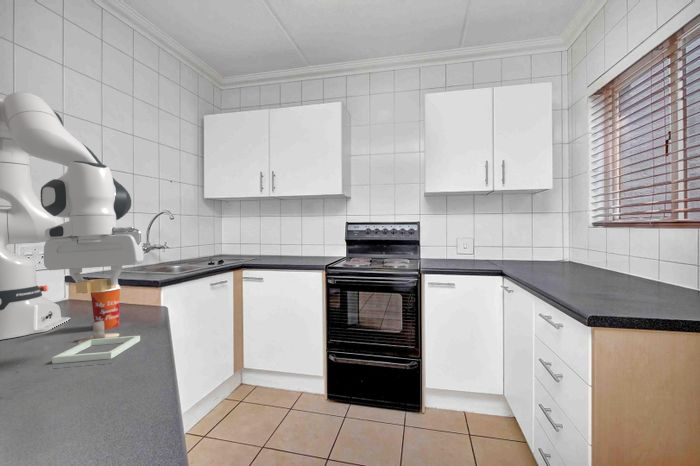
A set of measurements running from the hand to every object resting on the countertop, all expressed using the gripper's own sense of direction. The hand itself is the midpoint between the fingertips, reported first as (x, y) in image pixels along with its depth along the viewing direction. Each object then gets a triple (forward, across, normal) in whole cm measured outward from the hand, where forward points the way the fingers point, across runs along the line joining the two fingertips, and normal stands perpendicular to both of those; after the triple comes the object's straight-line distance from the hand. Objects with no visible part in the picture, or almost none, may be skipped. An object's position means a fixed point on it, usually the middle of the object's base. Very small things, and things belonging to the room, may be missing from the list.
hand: (97, 286), depth 76 cm
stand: (+16, +7, -11) cm, 21 cm away
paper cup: (+17, +12, -23) cm, 31 cm away
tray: (+17, 0, 0) cm, 17 cm away
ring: (+1, 0, 0) cm, 1 cm away
